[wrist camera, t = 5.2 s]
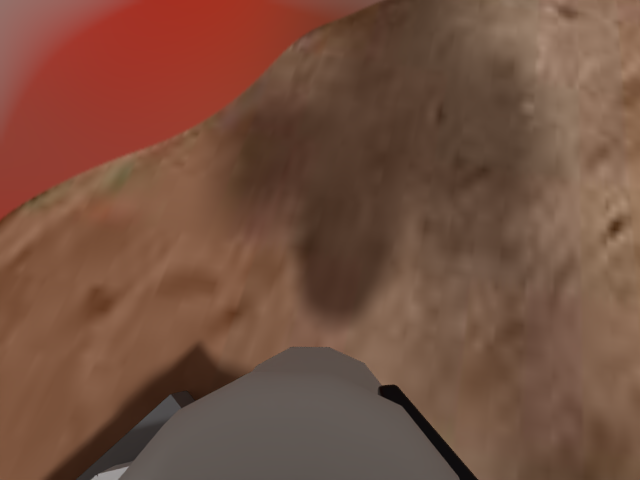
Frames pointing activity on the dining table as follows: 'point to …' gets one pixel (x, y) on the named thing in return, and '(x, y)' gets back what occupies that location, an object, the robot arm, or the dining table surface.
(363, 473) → the salt shaker
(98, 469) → the ringed square socket
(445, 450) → the robot arm
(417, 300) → the dining table surface
